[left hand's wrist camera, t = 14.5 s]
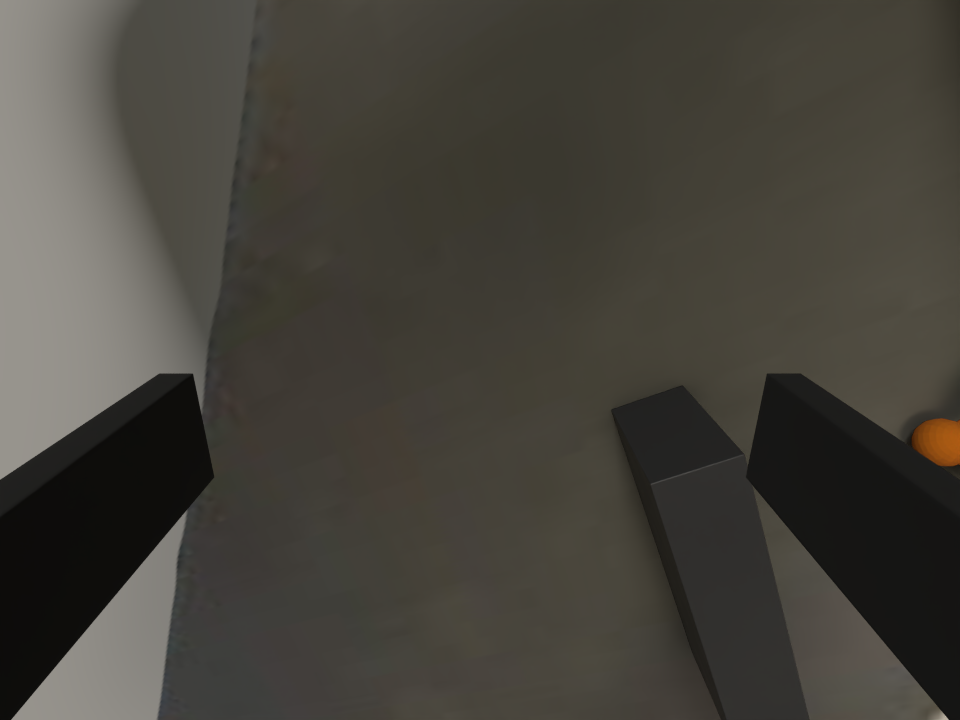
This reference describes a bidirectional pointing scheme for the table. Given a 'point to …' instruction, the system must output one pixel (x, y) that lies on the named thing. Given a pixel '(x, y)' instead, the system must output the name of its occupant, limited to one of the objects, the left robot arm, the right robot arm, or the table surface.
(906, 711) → the table surface
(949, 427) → the molecular model
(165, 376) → the left robot arm
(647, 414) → the box
